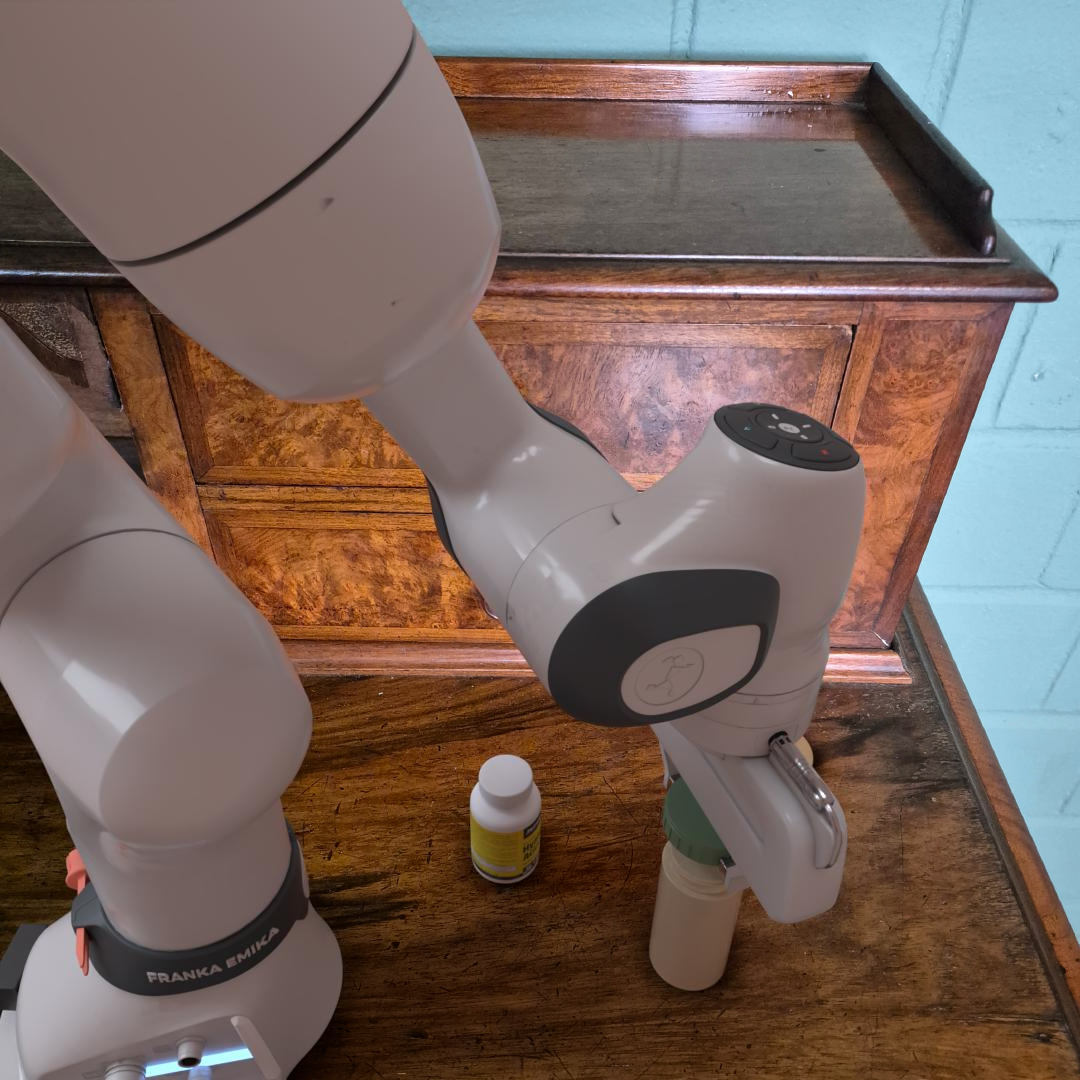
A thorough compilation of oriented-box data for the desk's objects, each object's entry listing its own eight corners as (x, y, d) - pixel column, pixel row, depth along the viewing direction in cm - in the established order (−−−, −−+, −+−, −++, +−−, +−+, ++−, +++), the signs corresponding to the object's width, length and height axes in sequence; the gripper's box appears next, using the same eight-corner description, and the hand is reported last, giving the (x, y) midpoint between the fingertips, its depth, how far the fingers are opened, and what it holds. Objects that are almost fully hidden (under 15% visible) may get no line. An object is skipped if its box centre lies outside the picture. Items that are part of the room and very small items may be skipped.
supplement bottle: (532, 892, 73) (533, 810, 67) (464, 879, 74) (459, 797, 68) (546, 834, 77) (548, 752, 71) (481, 822, 78) (478, 741, 72)
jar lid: (685, 876, 57) (689, 859, 56) (645, 797, 62) (649, 779, 61) (776, 856, 59) (782, 838, 58) (731, 780, 64) (736, 763, 63)
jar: (671, 1003, 66) (690, 899, 59) (635, 933, 70) (649, 828, 63) (741, 974, 68) (767, 870, 60) (701, 908, 72) (722, 803, 64)
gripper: (902, 804, 46) (841, 962, 54) (701, 564, 62) (676, 714, 70) (791, 840, 44) (744, 998, 52) (612, 582, 60) (597, 735, 68)
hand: (704, 834), depth 61 cm, fingers closed on jar lid, 6 cm apart
